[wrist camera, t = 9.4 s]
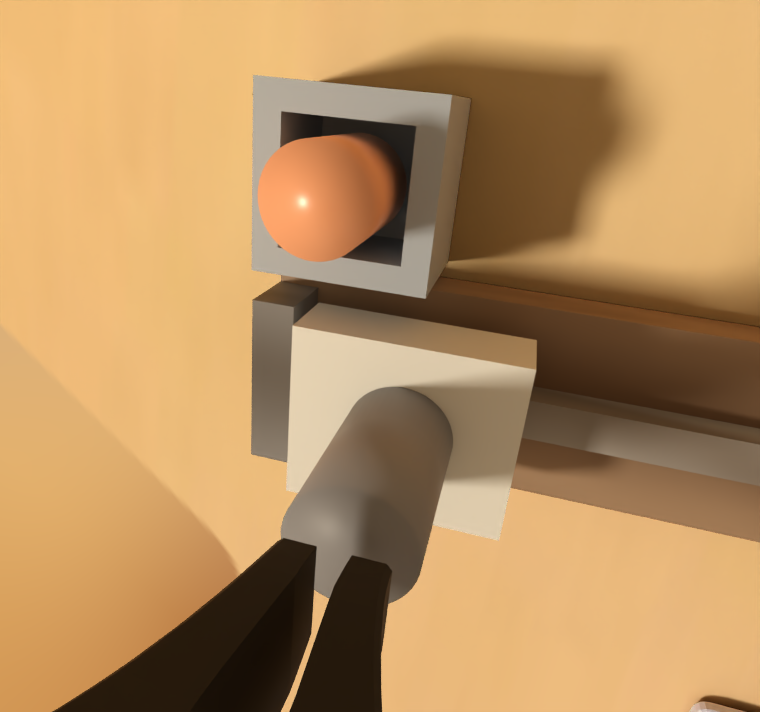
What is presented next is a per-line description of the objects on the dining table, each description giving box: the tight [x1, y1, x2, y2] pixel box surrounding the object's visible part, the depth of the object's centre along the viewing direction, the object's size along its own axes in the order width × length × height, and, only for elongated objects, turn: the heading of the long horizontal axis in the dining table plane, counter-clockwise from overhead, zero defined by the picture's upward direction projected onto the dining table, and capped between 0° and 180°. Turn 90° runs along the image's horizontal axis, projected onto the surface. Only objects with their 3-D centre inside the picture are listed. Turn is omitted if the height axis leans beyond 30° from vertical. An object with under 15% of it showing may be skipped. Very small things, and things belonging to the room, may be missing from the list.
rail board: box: [251, 275, 760, 542], centre depth 17 cm, size 6×22×4 cm, turn 84°
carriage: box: [281, 303, 537, 604], centre depth 14 cm, size 5×6×6 cm
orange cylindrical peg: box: [258, 133, 407, 262], centre depth 14 cm, size 2×2×4 cm
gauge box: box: [252, 75, 471, 299], centre depth 16 cm, size 5×5×4 cm
